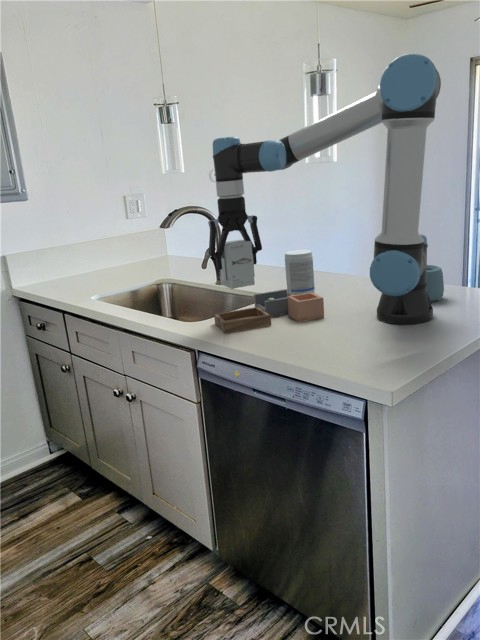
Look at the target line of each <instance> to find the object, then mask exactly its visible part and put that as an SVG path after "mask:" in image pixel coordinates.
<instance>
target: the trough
mask: <svg viewBox="0 0 480 640" xmlns="http://www.w3.org/2000/svg"><path fill="white" fill-rule="evenodd" d="M213 318H214V324H215V325H216V326H217V327H218V328H219V329H220V330H221V331H222V333H223V334H232V333H236V332H242V331H248V330H253V329H259V328H265V327H271V326H272V317H271V315H269V314H268V313H267V312H265V311H264V310H262V309H261V308H259V307H255V306H254V307H249V308H244V309H237V310H232V311H225V312H221V313H214V314H213Z"/></svg>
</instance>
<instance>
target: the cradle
mask: <svg viewBox="0 0 480 640" xmlns="http://www.w3.org/2000/svg"><path fill="white" fill-rule="evenodd" d="M292 295H295V294H292ZM292 295H289V294H288V292H287V288H286V289H279V290H274V291H266V292H260V293H259V292H258V293H254V294H253V299H254V301H253V302H254V307H259V308H261V309H262V310H264V311H265V312H267V313H268V314H269V315H271V318H273V317H279V316H280V317H281V316H284V315H285V316H286V315H289V313H288V298H287V296H292Z"/></svg>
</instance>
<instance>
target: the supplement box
mask: <svg viewBox="0 0 480 640" xmlns="http://www.w3.org/2000/svg"><path fill="white" fill-rule="evenodd" d="M251 241H252V240H251ZM251 241H245V240H244V239H236V240H235V239H234V240H228V241H227V240H226V243H225V246H224V250H223V253H222V256H221V257H223V258H224V261H225V271H226V281H223V280H221V283H222V284H221V285H222V286H223V287H226V288H229V289H231V290H234V289H239V288H244V287H250V286H255V282H256V280H255V277H254V274H255V268H254V269H253V256H252V243H253V242H252V243H251Z"/></svg>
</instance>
